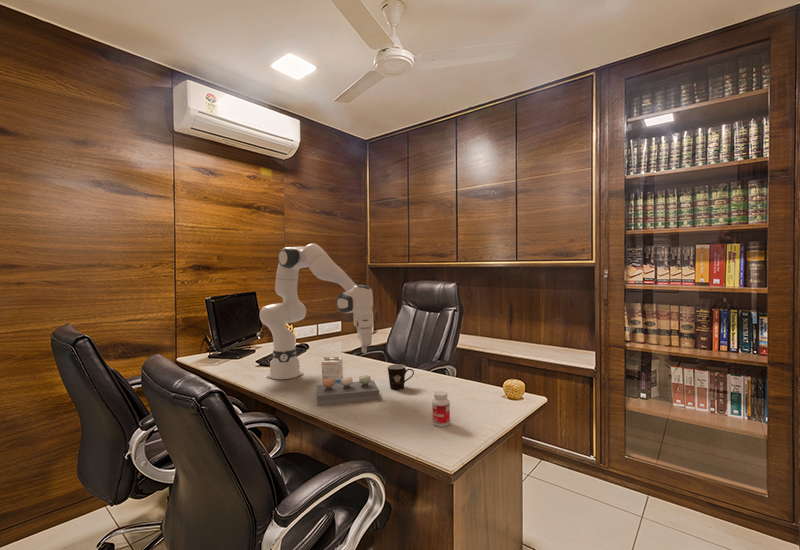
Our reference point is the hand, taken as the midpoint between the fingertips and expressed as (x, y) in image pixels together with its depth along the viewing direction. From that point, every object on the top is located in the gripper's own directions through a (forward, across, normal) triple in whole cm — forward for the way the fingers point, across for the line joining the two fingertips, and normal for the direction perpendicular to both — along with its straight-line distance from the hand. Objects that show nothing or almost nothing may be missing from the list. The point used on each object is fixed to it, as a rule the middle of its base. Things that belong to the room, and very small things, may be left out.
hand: (364, 352), depth 165 cm
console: (+19, 0, -8) cm, 21 cm away
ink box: (+19, -22, -13) cm, 32 cm away
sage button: (+15, 0, 0) cm, 15 cm away
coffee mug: (+19, -4, +17) cm, 26 cm away
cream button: (+15, 0, -8) cm, 17 cm away
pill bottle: (+19, +38, +22) cm, 48 cm away
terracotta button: (+15, 0, -16) cm, 22 cm away
